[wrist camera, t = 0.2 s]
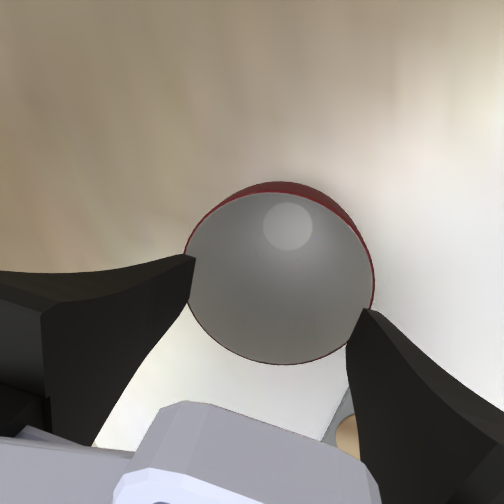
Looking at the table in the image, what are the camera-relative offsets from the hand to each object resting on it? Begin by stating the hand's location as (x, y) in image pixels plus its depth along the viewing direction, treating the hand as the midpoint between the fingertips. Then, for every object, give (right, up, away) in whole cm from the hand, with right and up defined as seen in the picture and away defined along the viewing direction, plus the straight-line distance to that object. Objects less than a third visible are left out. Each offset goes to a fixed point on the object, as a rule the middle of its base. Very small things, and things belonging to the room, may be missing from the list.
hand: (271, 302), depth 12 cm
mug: (+1, +3, +10) cm, 10 cm away
